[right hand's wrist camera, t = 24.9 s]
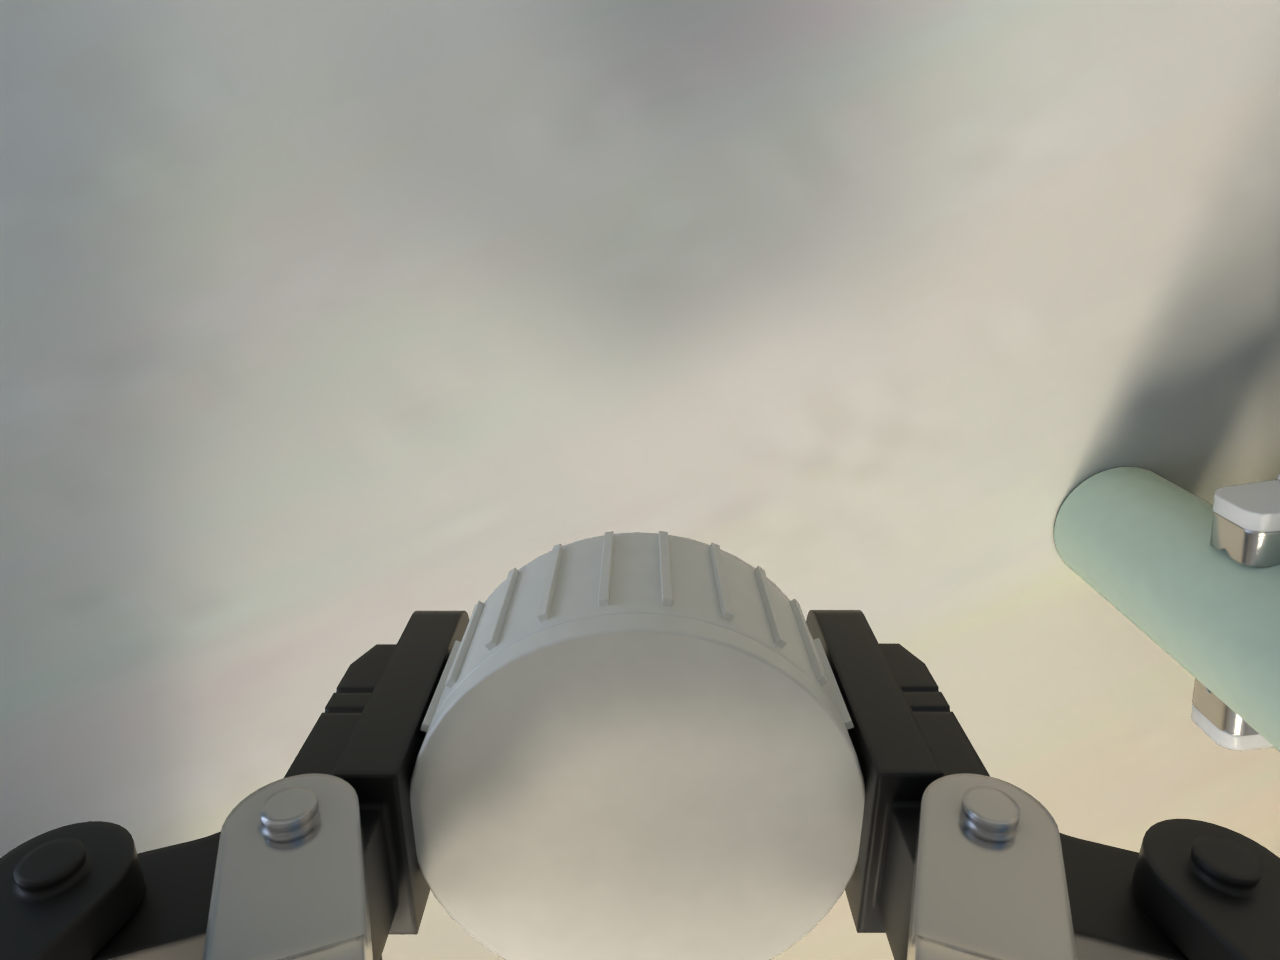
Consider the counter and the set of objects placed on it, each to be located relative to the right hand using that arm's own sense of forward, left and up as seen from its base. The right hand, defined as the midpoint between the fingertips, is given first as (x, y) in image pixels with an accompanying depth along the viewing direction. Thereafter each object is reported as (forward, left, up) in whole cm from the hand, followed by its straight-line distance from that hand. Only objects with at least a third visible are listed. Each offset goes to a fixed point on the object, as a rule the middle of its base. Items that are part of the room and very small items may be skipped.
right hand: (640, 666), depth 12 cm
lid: (0, 0, +3) cm, 3 cm away
